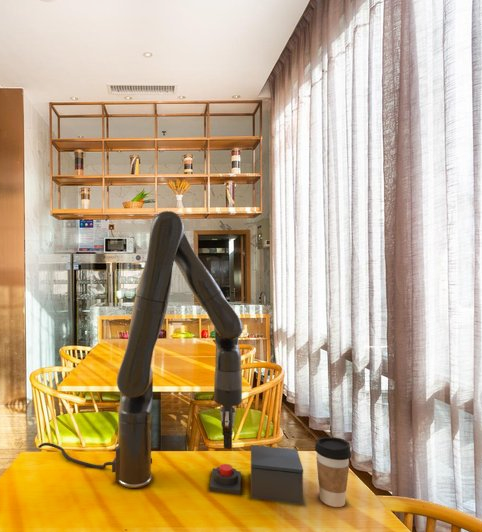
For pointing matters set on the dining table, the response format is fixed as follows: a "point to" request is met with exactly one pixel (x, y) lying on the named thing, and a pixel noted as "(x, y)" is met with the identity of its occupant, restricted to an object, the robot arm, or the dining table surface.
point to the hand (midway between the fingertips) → (227, 447)
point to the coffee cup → (332, 469)
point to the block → (226, 482)
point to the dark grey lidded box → (277, 485)
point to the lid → (275, 459)
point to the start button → (226, 470)
